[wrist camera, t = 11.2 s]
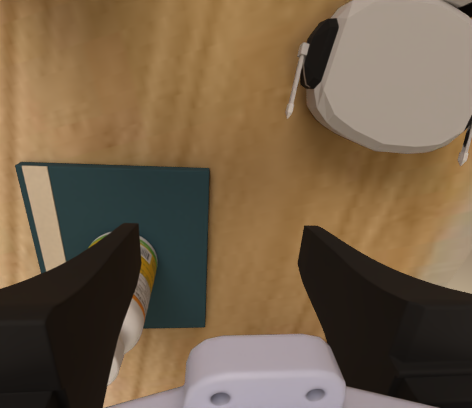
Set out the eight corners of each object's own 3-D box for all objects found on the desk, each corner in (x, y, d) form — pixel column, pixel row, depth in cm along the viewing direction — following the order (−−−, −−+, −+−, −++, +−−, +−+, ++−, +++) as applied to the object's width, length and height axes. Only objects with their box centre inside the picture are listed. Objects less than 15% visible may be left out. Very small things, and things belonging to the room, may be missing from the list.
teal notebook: (205, 321, 29) (205, 328, 29) (58, 323, 28) (54, 331, 27) (209, 167, 23) (209, 171, 22) (20, 161, 22) (13, 165, 21)
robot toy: (349, -163, 17) (268, 119, 22) (399, -245, 13) (285, 127, 17) (531, -78, 19) (421, 160, 24) (625, -124, 15) (468, 176, 20)
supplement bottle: (94, 287, 26) (36, 406, 17) (81, 229, 23) (6, 333, 15) (161, 284, 26) (138, 399, 17) (155, 227, 24) (125, 327, 15)
